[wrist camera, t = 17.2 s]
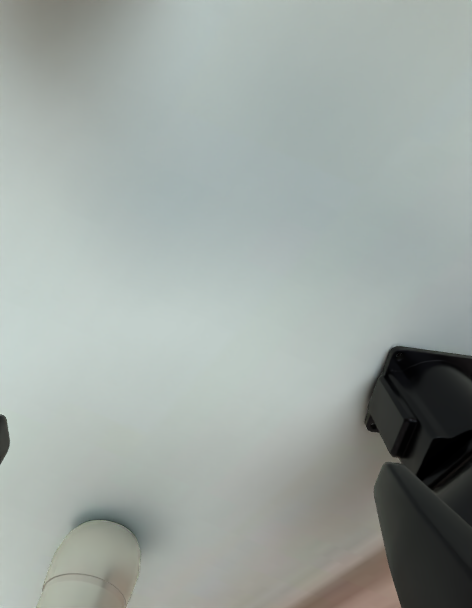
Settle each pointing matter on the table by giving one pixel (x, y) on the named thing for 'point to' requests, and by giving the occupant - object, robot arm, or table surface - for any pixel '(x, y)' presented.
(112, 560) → the plastic bottle
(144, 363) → the table surface
